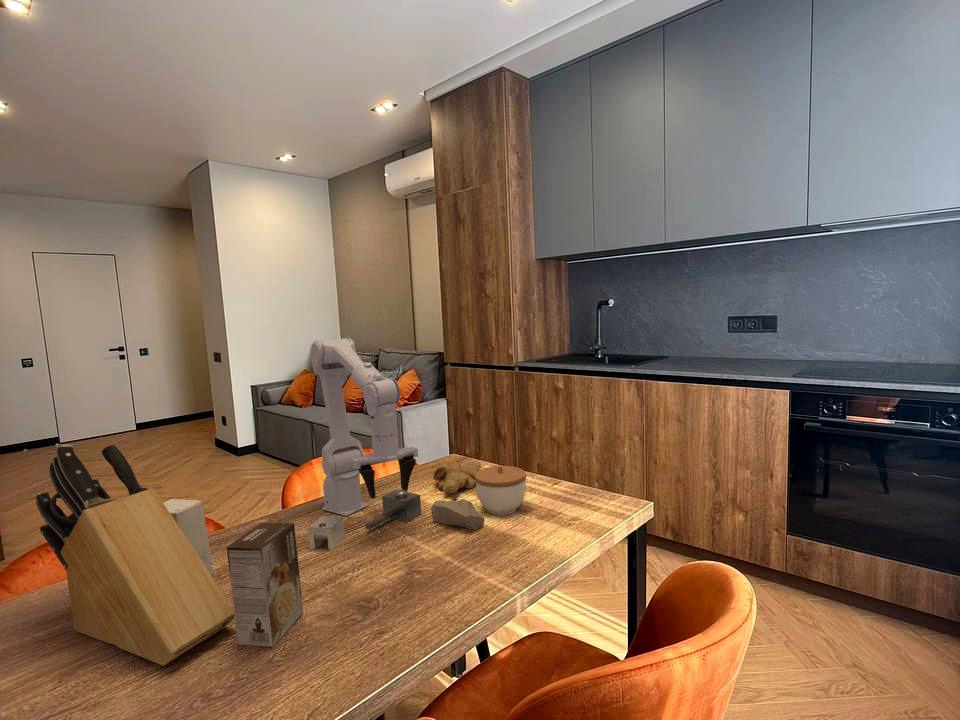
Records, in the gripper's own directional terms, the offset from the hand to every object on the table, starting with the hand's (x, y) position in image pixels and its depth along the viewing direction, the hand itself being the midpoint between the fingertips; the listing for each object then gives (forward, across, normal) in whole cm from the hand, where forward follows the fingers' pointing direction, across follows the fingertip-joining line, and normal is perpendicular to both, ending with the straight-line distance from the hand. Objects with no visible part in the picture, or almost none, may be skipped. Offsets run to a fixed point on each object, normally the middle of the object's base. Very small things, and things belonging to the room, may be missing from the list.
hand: (388, 493), depth 114 cm
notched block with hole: (+10, -13, +5) cm, 17 cm away
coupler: (+10, +2, +7) cm, 12 cm away
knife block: (+10, -48, -6) cm, 49 cm away
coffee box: (+10, -29, -21) cm, 37 cm away
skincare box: (+10, -41, +5) cm, 42 cm away
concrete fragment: (+10, +15, -3) cm, 18 cm away
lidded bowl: (+10, +28, -3) cm, 30 cm away
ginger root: (+10, +26, +19) cm, 34 cm away
